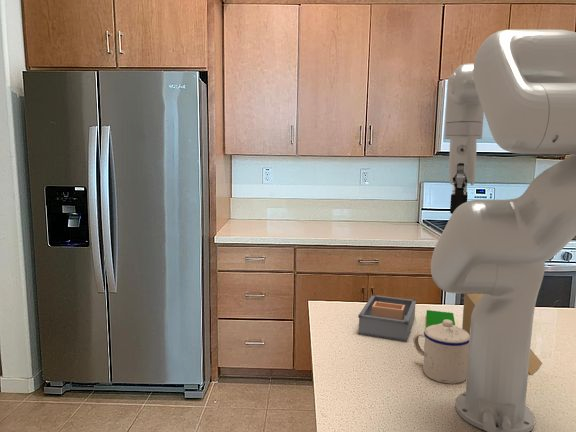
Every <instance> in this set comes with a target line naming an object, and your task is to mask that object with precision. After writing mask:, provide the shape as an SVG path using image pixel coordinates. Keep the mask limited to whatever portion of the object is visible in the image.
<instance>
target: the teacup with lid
mask: <svg viewBox="0 0 576 432" xmlns="http://www.w3.org/2000/svg"><path fill="white" fill-rule="evenodd" d="M419 337H422V338H424V347H423V348H424V349H422V348H421V347H420V344H419ZM469 337H470V335H469V334H468V332H466V331H465V330H463V329H462V327H459V326H457V325H456V324H455V325H453V322H452V321H451V320H448V319H445V320H443V323H440V324H437V325H431V326H428V327H427V328H426V327H425V329H424V330H423V332H421V331H420V332H418V333H416V334H415V335H414V337H413V347H414V349H415V351H416V352H417V353H418V354H419V355H421V356H423V366H422V369H423V370H422V371H423V372H424V374H425V376H426V377H428V378H429V379H431V380H433V381H435V382H439V383H443V384H451V385H453V384H461V383H463V382H465V381H466V380H467V366H468V351H469Z"/></svg>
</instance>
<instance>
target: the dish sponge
mask: <svg viewBox="0 0 576 432" xmlns="http://www.w3.org/2000/svg"><path fill="white" fill-rule="evenodd" d="M425 315H426V317H425V318H426V321H425V322H426V323H425V324H426V325H425V329H426V328H427V327H428V326H431V325H437V324H440V323H443V320H445V319H448V320H451V321H452V322H453V325H455V326H456V323H455V317H454V315H455V314H454V313H453V312H450V311H448V312H447V311H440V310H439V311H437V310H430V309H427V310H426V314H425Z"/></svg>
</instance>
